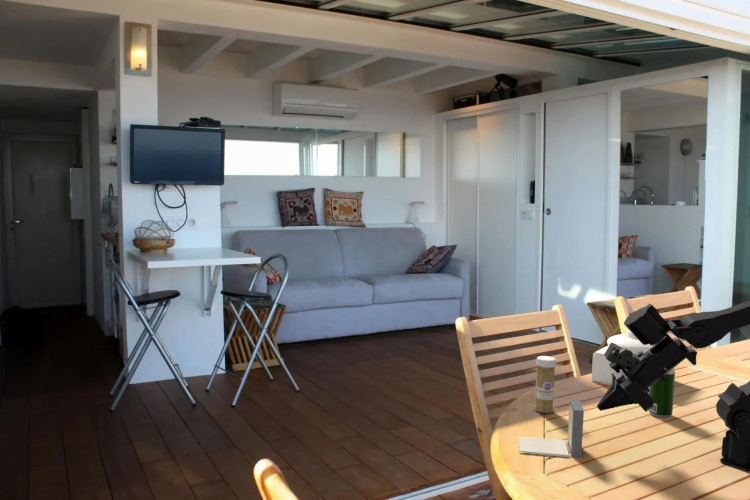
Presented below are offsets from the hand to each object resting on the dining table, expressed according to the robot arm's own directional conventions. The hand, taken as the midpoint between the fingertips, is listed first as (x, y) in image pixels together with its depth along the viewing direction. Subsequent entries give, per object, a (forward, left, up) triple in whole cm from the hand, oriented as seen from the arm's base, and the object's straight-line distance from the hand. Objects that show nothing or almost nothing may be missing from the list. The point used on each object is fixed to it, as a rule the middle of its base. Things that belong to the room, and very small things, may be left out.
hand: (598, 408), depth 142 cm
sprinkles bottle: (+22, -12, -10) cm, 27 cm away
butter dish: (+22, -53, -10) cm, 59 cm away
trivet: (+8, +7, -10) cm, 15 cm away
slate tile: (+3, +3, -10) cm, 10 cm away
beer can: (+3, -33, -10) cm, 35 cm away
